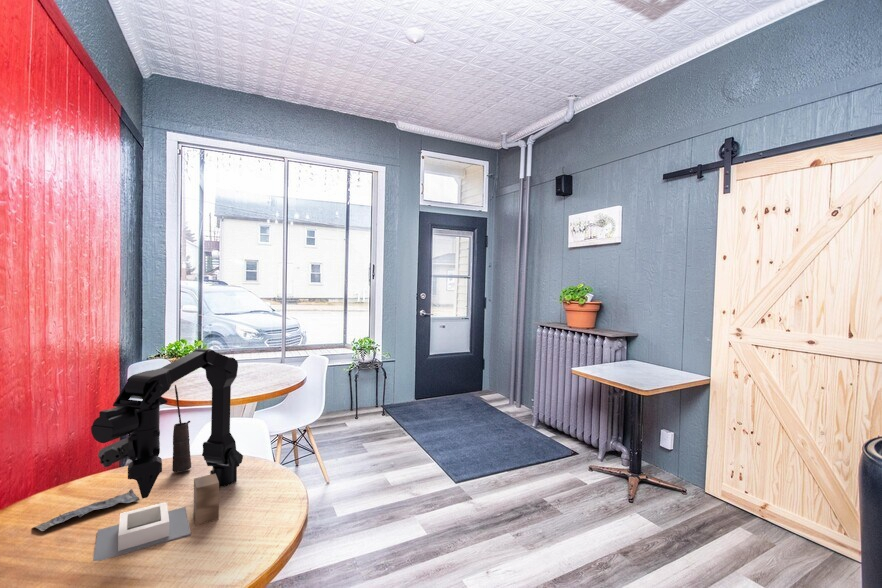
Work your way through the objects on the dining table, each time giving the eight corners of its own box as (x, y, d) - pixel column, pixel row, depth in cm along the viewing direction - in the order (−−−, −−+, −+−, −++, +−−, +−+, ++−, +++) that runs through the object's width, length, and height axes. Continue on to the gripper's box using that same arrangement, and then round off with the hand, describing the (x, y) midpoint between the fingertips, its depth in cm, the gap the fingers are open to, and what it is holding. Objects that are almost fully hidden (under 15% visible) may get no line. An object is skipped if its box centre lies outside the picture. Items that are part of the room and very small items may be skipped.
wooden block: (215, 509, 109) (215, 473, 109) (218, 520, 104) (219, 482, 104) (193, 515, 106) (193, 478, 106) (196, 527, 101) (196, 488, 101)
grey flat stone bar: (36, 536, 95) (36, 527, 95) (30, 527, 99) (30, 518, 99) (140, 501, 112) (140, 493, 112) (131, 494, 116) (131, 486, 116)
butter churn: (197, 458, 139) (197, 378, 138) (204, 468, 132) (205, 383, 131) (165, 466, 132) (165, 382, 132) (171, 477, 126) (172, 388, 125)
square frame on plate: (185, 510, 108) (185, 493, 108) (190, 537, 97) (190, 519, 97) (97, 533, 97) (98, 515, 97) (92, 567, 86) (92, 547, 86)
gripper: (104, 421, 99) (104, 483, 99) (97, 448, 84) (97, 521, 85) (159, 413, 106) (159, 471, 106) (162, 436, 91) (161, 504, 91)
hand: (144, 490), depth 97 cm, fingers open, 7 cm apart
